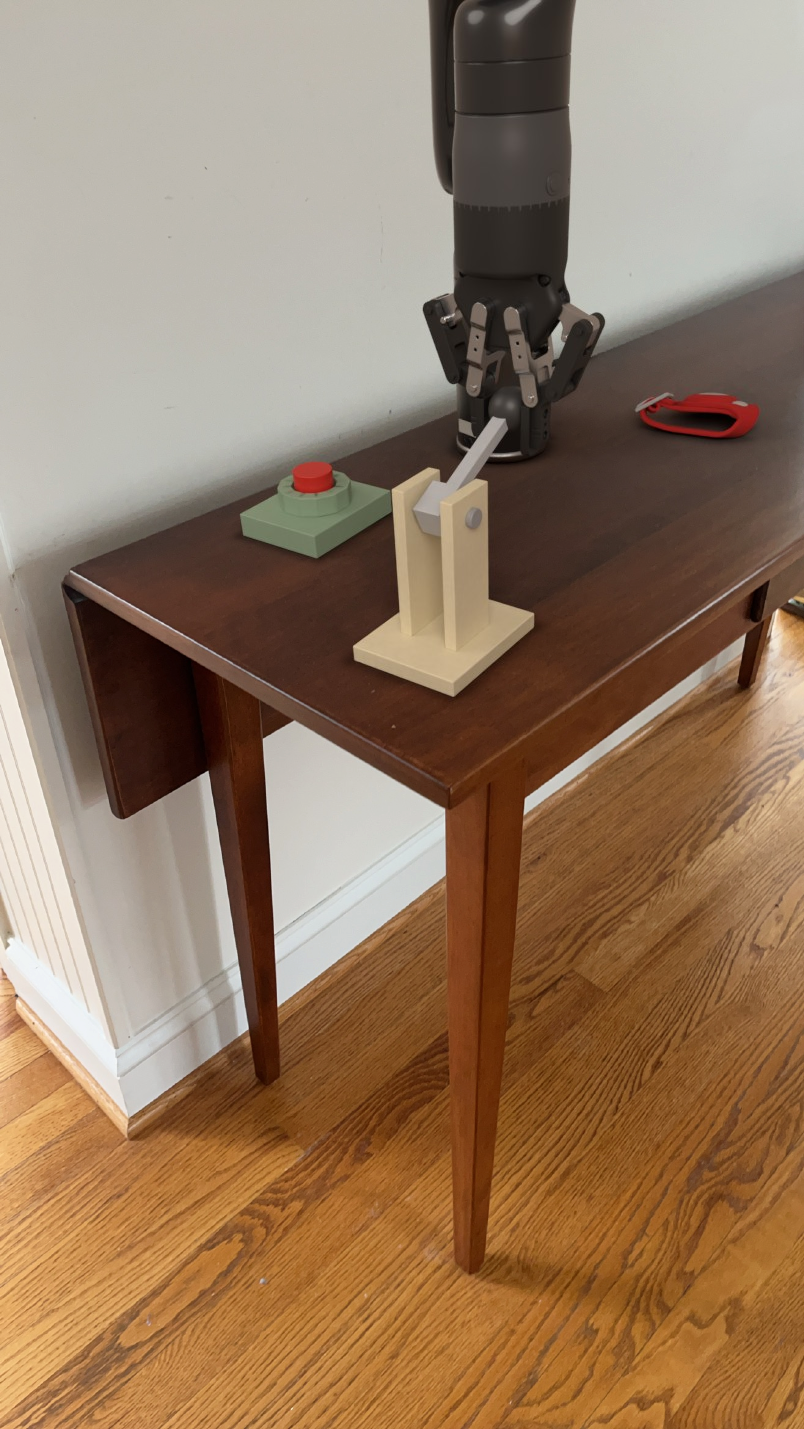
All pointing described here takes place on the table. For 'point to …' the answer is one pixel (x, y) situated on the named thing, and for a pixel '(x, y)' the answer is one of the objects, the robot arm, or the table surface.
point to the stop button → (313, 477)
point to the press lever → (472, 456)
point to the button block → (316, 515)
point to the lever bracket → (443, 595)
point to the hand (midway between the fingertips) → (509, 446)
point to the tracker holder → (702, 403)
